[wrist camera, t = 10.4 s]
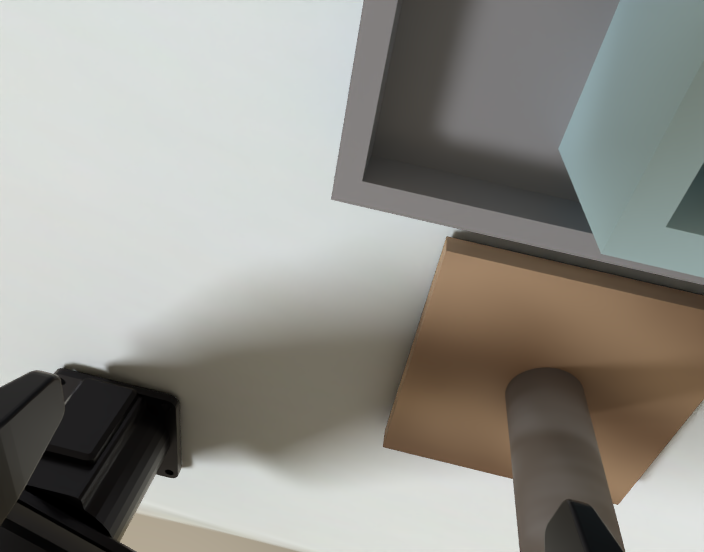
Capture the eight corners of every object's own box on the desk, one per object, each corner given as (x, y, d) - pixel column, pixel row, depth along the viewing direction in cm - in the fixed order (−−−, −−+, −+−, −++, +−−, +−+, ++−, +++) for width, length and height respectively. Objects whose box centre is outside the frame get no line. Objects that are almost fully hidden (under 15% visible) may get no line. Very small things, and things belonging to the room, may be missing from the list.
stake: (613, 485, 26) (661, 667, 19) (385, 429, 26) (362, 591, 20) (750, 306, 19) (887, 493, 13) (446, 236, 20) (441, 386, 14)
